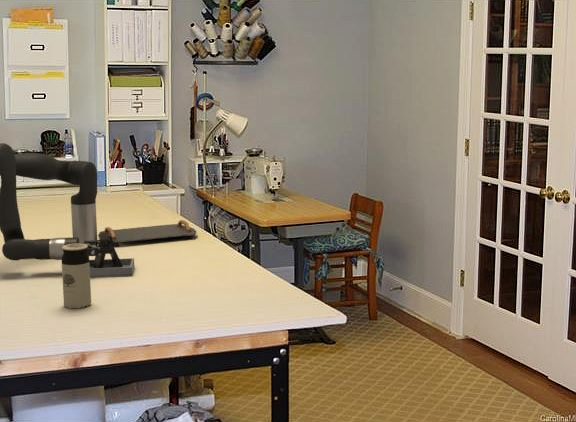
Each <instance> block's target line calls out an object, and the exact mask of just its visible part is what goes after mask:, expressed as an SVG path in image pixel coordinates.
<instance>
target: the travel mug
mask: <svg viewBox="0 0 576 422" xmlns="http://www.w3.org/2000/svg"><path fill="white" fill-rule="evenodd" d="M87 247H88V246H87V245H86V244H68V245H64V246H62V249H63V255H62V258H61V260H60V261H61V275H62V276H61V277H62V291H63V292H62V295H63V306H64V307H66V308H68V307H71V308H70V309H79V308H78V307H83V308H86V307H85V306H87V307H89V306H90V305H91V304H92V289H91V278H90V266H89V260H90V256H89V255H88V254H87V252H86V251H87ZM88 305H89V306H88Z"/></svg>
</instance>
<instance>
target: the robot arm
mask: <svg viewBox="0 0 576 422" xmlns="http://www.w3.org/2000/svg"><path fill="white" fill-rule="evenodd" d="M17 177H22V178H28V179H33V180H40V181H55V180H56V181H60V182H64V183H66V184H71V185H74V186H79V190H78V192H77V193H76V194H73V195H71V197H70V210H71V211H70V212H71V233H72V237H54V238H38V239H37V238H36V239H28V238H27V239H26V238H25V236H24V233H23V229H22V223H21V217H20V213H19V205H18V197H17ZM97 195H98V170H97V166H96V165H95V164H94V163H93V162H91V161H87V160H86V161H84V160H59V159H57V158H55V157H53V156H51V155H48V154H44V153H37V152H26V153H25V152H23V153H15V151H14V149H13V148H12V146H11V145H9V144H8V143H4V142H1V143H0V233H1V234H2V236H3V242H4V243H3V244H2V248H1V252H2V255H3V256H4V257H5V258H6V259H7V260H10V261H20V260H40V261H41V260H43V261H44V260H45V261H46V260H53V261H56V260H57V261H62V260H61V258H62V255H63V249H62V246H64V245H68V244H86V245H87V246H88V247H87V251H86V252H87V254H88V255H89V257H95V256H98V255H101V254H105V255H106V254H107V255H110V254H112V247H101V248H100V247H98V246H99V242H100V239H98V222H97V203H96V202H97V201H96V199H97ZM112 244H113V246H114V242H112Z"/></svg>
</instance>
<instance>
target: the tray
mask: <svg viewBox="0 0 576 422" xmlns="http://www.w3.org/2000/svg"><path fill="white" fill-rule="evenodd" d="M119 259H120V262H121V264H122V266H123V267H114V268H94V267H93V263H94V260H95V259H89V266H90V279H92V278H116V277H133V275H134V270H135V258H133V257H132V258H130V257H129V258H119ZM111 263H113V261H112V258H105V259H104V264H111ZM104 264H103V265H104Z"/></svg>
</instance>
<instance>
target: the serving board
mask: <svg viewBox="0 0 576 422" xmlns="http://www.w3.org/2000/svg"><path fill="white" fill-rule="evenodd" d="M101 232H102V233H103V234H104V235H105V236H106V237H107V235H106V234H105V233H104V232H106V233H107V234H108V235H109V236H111V237H112V240H113V241H112V242H114V248H119V247H120V244H119V243H127V242H128V243H129V242H138V241H146V240H147V241H149V240H155V239H157V240H158V239H166V238H176V237H187V236H188V239H189V240H194V239H195V235H197V230H196V229H195V228H193V227H191V226H190V225H189V223H188V222H187V221H186V220H184V219H181V220H179V221H178V223H175V224H174V223H173V224H172V223H171V224H162V225H152V226H151V225H150V226H141V227H140V226H139V227H131V228H130V227H129V228H120V229H113V228H111V226H110V227H109V226H106V227H105V228H104V230H101V231H99V232H98V233H97V237H99V235H100V233H101ZM105 240H106V238H105Z"/></svg>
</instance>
